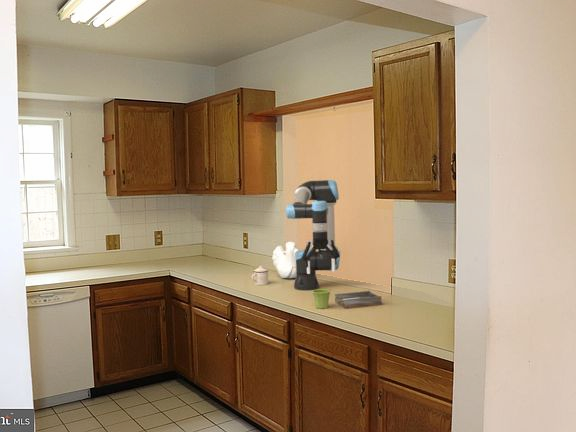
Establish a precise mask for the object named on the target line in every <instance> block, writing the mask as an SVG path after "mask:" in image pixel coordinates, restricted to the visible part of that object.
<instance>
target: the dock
mask: <svg viewBox="0 0 576 432" xmlns="http://www.w3.org/2000/svg"><path fill="white" fill-rule="evenodd" d="M334 303H335V304H337V305H338V306H340V307H342V308H343V309H345V310H347V309H348V310H349V309H355V308H356V309H357V308H364V307H365V308H366V307H367V308H368V307H375V306H381V305H382V296H381V295H377V294H375V293H373V292H371V291H370V290H364V291H353V292H346V293H345V292H344V293H334Z"/></svg>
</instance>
